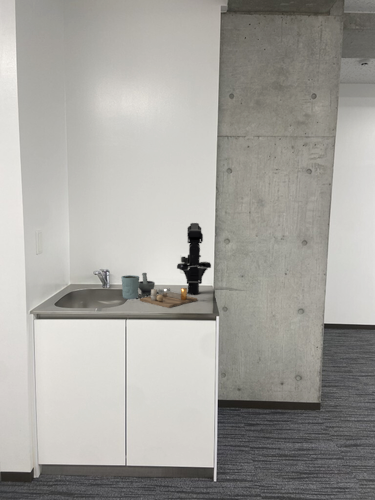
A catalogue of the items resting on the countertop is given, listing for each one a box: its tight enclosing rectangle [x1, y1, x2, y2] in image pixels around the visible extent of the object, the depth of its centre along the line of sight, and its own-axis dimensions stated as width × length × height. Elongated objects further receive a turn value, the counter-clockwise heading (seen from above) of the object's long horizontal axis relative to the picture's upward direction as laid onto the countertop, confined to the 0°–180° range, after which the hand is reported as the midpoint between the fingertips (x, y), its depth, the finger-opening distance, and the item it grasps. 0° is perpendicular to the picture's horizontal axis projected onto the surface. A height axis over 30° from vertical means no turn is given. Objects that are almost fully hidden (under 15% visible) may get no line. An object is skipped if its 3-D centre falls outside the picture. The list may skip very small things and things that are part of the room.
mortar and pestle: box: [138, 272, 156, 296], centre depth 247 cm, size 11×9×12 cm
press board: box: [139, 288, 198, 309], centre depth 230 cm, size 23×22×7 cm
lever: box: [158, 287, 188, 300], centre depth 233 cm, size 20×4×6 cm, turn 49°
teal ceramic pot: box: [121, 274, 140, 300], centre depth 237 cm, size 10×10×12 cm
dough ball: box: [157, 294, 163, 301], centre depth 224 cm, size 4×4×4 cm
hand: (193, 281), depth 230 cm, fingers open, 7 cm apart
